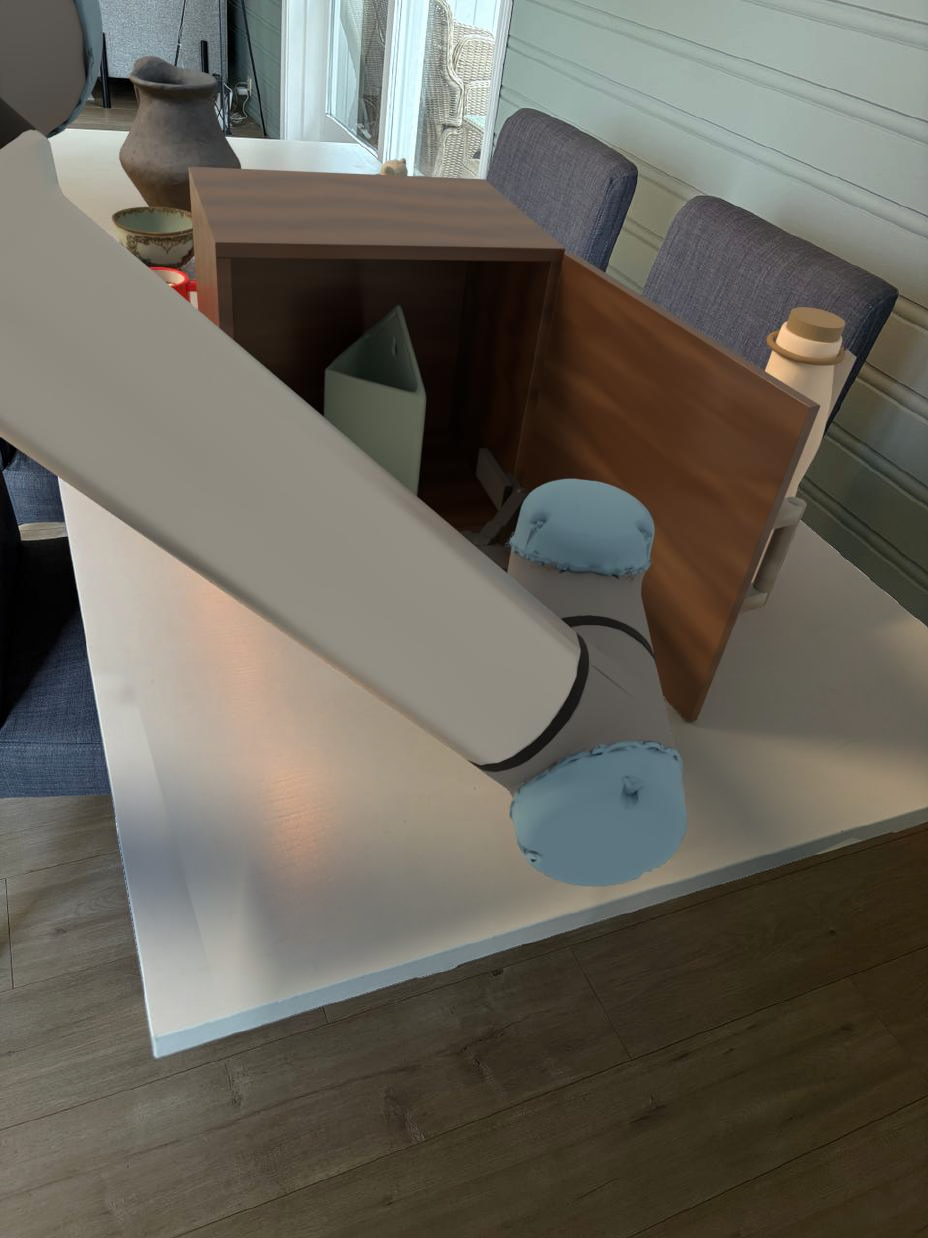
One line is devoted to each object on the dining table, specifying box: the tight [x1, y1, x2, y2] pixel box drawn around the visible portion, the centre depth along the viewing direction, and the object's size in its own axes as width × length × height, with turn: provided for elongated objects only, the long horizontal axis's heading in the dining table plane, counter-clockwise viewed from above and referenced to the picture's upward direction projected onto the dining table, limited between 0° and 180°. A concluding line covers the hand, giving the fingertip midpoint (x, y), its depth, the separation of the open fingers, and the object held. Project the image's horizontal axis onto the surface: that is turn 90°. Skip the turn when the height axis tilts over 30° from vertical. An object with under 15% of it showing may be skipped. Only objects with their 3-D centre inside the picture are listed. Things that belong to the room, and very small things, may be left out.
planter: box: [324, 304, 426, 496], centre depth 96 cm, size 16×8×20 cm, turn 25°
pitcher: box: [118, 55, 242, 213], centre depth 161 cm, size 21×22×25 cm
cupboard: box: [189, 167, 566, 534], centre depth 94 cm, size 22×30×30 cm
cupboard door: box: [512, 252, 820, 723], centre depth 82 cm, size 7×30×30 cm, turn 28°
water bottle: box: [751, 306, 858, 583], centre depth 91 cm, size 10×9×28 cm
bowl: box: [111, 206, 195, 272], centre depth 146 cm, size 14×13×8 cm
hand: (409, 465), depth 81 cm, fingers open, 13 cm apart
